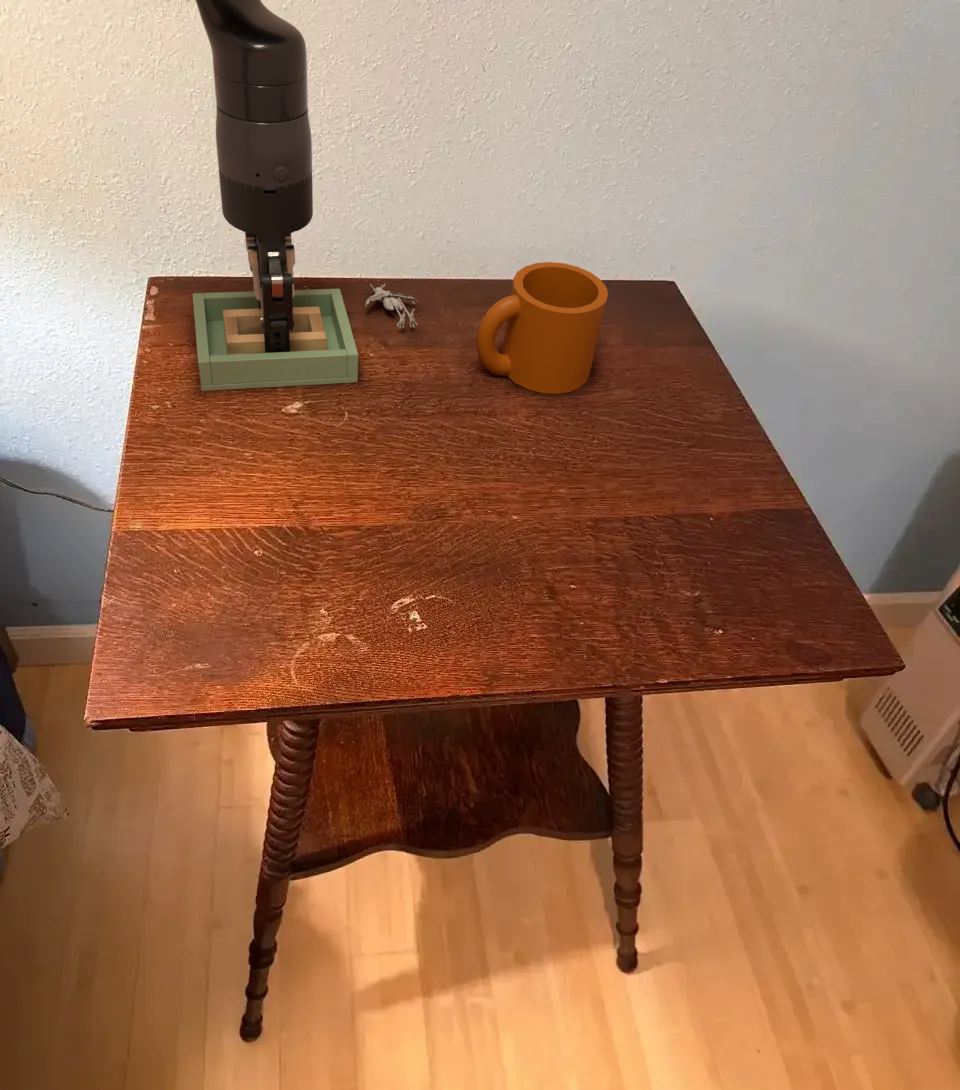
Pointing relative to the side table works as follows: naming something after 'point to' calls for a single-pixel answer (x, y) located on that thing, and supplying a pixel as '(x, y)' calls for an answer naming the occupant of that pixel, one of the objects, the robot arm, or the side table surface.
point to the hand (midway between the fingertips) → (274, 339)
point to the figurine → (393, 303)
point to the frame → (249, 334)
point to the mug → (545, 328)
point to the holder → (277, 366)
